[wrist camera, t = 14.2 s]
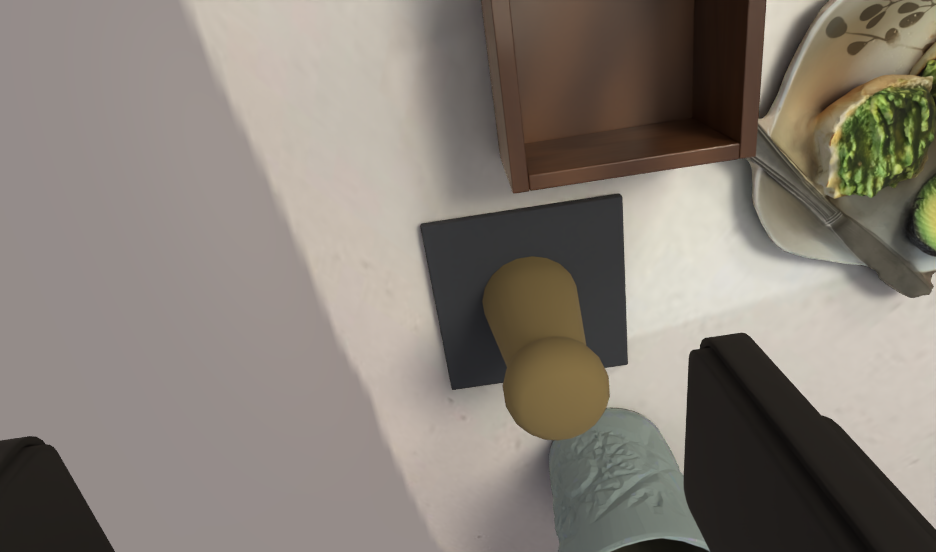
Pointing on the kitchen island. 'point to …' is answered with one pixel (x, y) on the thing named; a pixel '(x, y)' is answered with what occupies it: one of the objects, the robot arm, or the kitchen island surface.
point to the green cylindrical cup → (620, 490)
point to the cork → (544, 349)
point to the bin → (622, 86)
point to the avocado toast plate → (856, 143)
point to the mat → (518, 236)
